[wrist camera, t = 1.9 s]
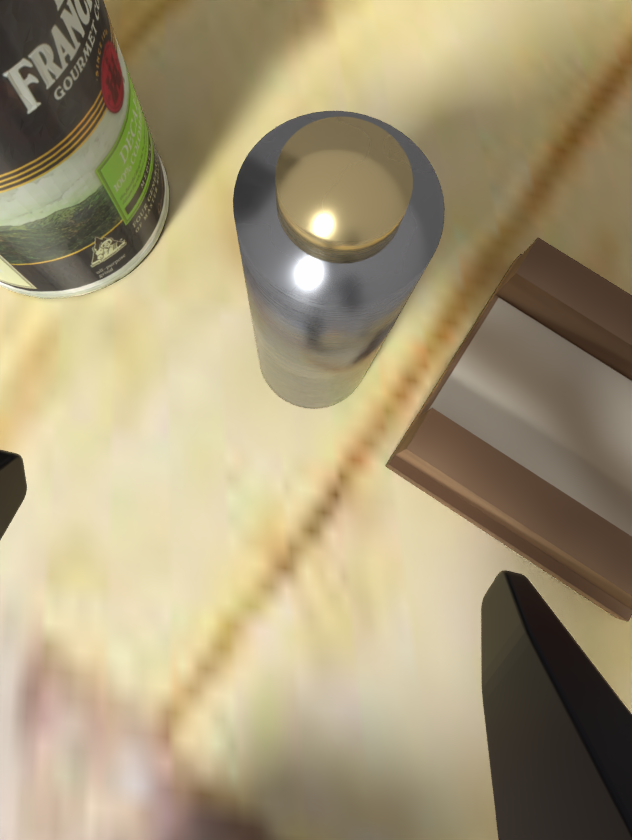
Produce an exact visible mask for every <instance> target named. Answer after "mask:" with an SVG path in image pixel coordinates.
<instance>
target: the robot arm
mask: <svg viewBox="0 0 632 840" xmlns="http://www.w3.org/2000/svg"><path fill="white" fill-rule="evenodd" d="M26 491H27V484H26V477H25V471H24V464H23V459H22V457H21V456H20V455H19V454H17V453H12V452H8V451H4V450H0V540H1V538H2V536H3V535H4V533H5V531H6V530H7V528H8V526H9V524H10V523H11V521H12V519H13V517H14V516H15V514H16V512H17V510H18V509H19V507H20V505H21V504H22V502H23V500H24V498H25V495H26ZM481 649H482V695H483V706H484V715H485V723H486V732H487V741H488V750H489V759H490V768H491V777H492V785H493V794H494V803H495V812H496V821H497V830H498V838H499V840H632V714H631V713H630V711H629V710H628V709H627V708H626V706H625V705H624V704H623V702H622V701H621V700H620V698H619V697H618V696H617V695H616V693H615V692H614V691H613V689H612V688H611V687H610V685H609V684H608V683H607V681H606V680H605V679H604V678H603V676H602V675H601V674H600V672H599V671H598V670H597V668H596V667H595V666H594V665H593V663H592V662H591V661H590V659H589V658H588V657H587V655H586V654H585V653H584V652H583V650H582V649H581V648H580V646H579V645H578V644H577V642H576V641H575V640H574V638H573V637H572V636H571V635H570V633H569V632H568V631H567V629H566V628H565V627H564V625H563V624H562V623H561V622H560V620H559V619H558V618H557V616H556V615H555V614H554V612H553V611H552V610H551V609H550V607H549V606H548V605H547V603H546V602H545V601H544V599H543V598H542V597H541V595H540V594H539V593H538V592H537V590H536V589H535V588H534V586H533V585H532V584H531V582H530V581H529V580H528V579H527V578H526V577H525V576H524V575H522V574H518V573H514V572H510V571H501V572H500V573H499V574H498V575H497V577H496V578H495V580H494V582H493V583H492V585H491V586H490V588H489V589H488V591H487V593H486V594H485V596H484V598H483V601H482V608H481Z"/></svg>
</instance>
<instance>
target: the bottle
mask: <svg viewBox="0 0 632 840" xmlns="http://www.w3.org/2000/svg"><path fill="white" fill-rule="evenodd" d="M233 209H234V218H235V224H236V230H237V235H238V241H239V247H240V253H241V259H242V264H243V270H244V276H245V282H246V288H247V293H248V299H249V305H250V311H251V316H252V322H253V328H254V334H255V340H256V345H257V351H258V357H259V363H260V368H261V371H262V374H263V376H264V379H265V381H266V382H267V384H268V385H269V387H270V388H271V389H272V390H273V391H274V392H275V393H276V394H277V395H278V396H279V397H280V398H282V399H283V400H285V401H287V402H289V403H291V404H293V405H296V406H299V407H303V408H312V409H315V408H324V407H329V406H332V405H335V404H337V403H339V402H341V401H342V400H344V399H346V398H347V397H348V396H349V395H350V394H352V393H353V391H354V390H355V389H356V388H357V387H358V385H359V384H360V382H361V380H362V379H363V377H364V375H365V373H366V372H367V370H368V368H369V366H370V365H371V363H372V361H373V359H374V358H375V356H376V354H377V352H378V351H379V349H380V347H381V345H382V344H383V342H384V340H385V338H386V337H387V335H388V333H389V331H390V330H391V328H392V326H393V324H394V323H395V321H396V319H397V317H398V316H399V314H400V312H401V310H402V309H403V307H404V305H405V303H406V302H407V300H408V298H409V297H410V295H411V293H412V291H413V290H414V288H415V286H416V284H417V283H418V281H419V279H420V277H421V276H422V274H423V272H424V270H425V269H426V267H427V265H428V263H429V262H430V260H431V258H432V256H433V254H434V252H435V250H436V248H437V246H438V244H439V241H440V238H441V234H442V230H443V224H444V200H443V194H442V190H441V186H440V183H439V180H438V178H437V175H436V173H435V171H434V169H433V167H432V166H431V164H430V162H429V160H428V159H427V158H426V156H425V155H424V154H423V152H422V151H421V150H420V149H419V148H418V147H417V146H416V145H415V144H414V143H413V142H412V141H411V140H410V139H409V138H408V137H407V136H405V135H404V134H403V133H402V132H400V131H398V130H397V129H395V128H394V127H392V126H391V125H388V124H386V123H384V122H382V121H380V120H378V119H375V118H372V117H369V116H366V115H362V114H358V113H353V112H344V111H324V112H316V113H311V114H307V115H303V116H299V117H297V118H294V119H291V120H289V121H287V122H285V123H283V124H281V125H279V126H278V127H276V128H275V129H273V130H272V131H270V132H269V133H268V134H266V135H265V136H264V137H263V138H262V139H261V140H260V141H259V142H258V143H257V144H256V145H255V146H254V148H253V149H252V150H251V151H250V152H249V154H248V156H247V157H246V159H245V161H244V162H243V164H242V166H241V169H240V171H239V174H238V176H237V180H236V184H235V188H234V197H233Z"/></svg>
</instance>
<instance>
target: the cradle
mask: <svg viewBox="0 0 632 840" xmlns="http://www.w3.org/2000/svg"><path fill="white" fill-rule="evenodd" d="M386 467H387V468H389V469H390V470H392V471H393V472H395V473H396V474H398V475H399V476H401V477H403V478H404V479H406V480H407V481H409V482H410V483H412V484H413V485H415V486H416V487H418V488H419V489H421V490H422V491H424V492H425V493H427V494H428V495H430V496H432V497H433V498H435V499H436V500H438V501H439V502H441V503H442V504H444V505H445V506H447V507H448V508H450V509H451V510H453V511H454V512H456V513H457V514H459V515H460V516H462V517H464V518H465V519H467V520H468V521H470V522H471V523H473V524H474V525H476V526H477V527H479V528H480V529H482V530H483V531H485V532H486V533H488V534H489V535H491V536H492V537H494V538H496V539H497V540H499V541H500V542H502V543H503V544H505V545H506V546H508V547H509V548H511V549H512V550H514V551H515V552H517V553H518V554H520V555H521V556H523V557H525V558H526V559H528V560H529V561H531V562H532V563H534V564H535V565H537V566H538V567H540V568H541V569H543V570H544V571H546V572H547V573H549V574H550V575H552V576H553V577H555V578H557V579H558V580H560V581H561V582H563V583H564V584H566V585H567V586H569V587H570V588H572V589H573V590H575V591H576V592H578V593H579V594H581V595H582V596H584V597H586V598H587V599H589V600H590V601H592V602H593V603H595V604H596V605H598V606H599V607H601V608H602V609H604V610H605V611H607V612H608V613H610V614H611V615H613V616H614V617H616V618H619V619H622V620H625V621H629V619H630V617H631V615H632V295H630V294H628V293H627V292H625V291H624V290H622V289H620V288H619V287H617V286H616V285H614V284H612V283H611V282H609V281H608V280H606V279H604V278H603V277H601V276H599V275H598V274H596V273H595V272H593V271H591V270H590V269H588V268H587V267H585V266H583V265H582V264H580V263H578V262H577V261H575V260H574V259H572V258H570V257H569V256H567V255H566V254H564V253H562V252H561V251H559V250H558V249H556V248H554V247H553V246H551V245H549V244H548V243H546V242H545V241H543V240H541V239H540V238H537V239H536V240H535V241H534V242H533V244H532V245H531V246H530V247H529V248H528V249H527V250H526V251H525V252H524V253H523V254H520V255H519V256H518V257H517V258H516V260H515V261H514V262H513V263H512V265H511V267H510V268H509V270H508V271H507V273H506V275H505V276H504V278H503V279H502V281H501V283H500V284H499V286H498V287H497V289H496V291H495V292H494V294H493V295H492V297H491V299H490V300H489V302H488V303H487V305H486V306H485V308H484V310H483V311H482V313H481V314H480V316H479V318H478V319H477V321H476V322H475V324H474V326H473V327H472V329H471V330H470V332H469V334H468V335H467V337H466V338H465V340H464V342H463V343H462V345H461V346H460V348H459V350H458V351H457V353H456V354H455V356H454V358H453V359H452V361H451V362H450V364H449V365H448V367H447V369H446V370H445V372H444V373H443V375H442V377H441V378H440V380H439V381H438V383H437V385H436V386H435V388H434V389H433V391H432V393H431V394H430V396H429V397H428V399H427V401H426V402H425V404H424V405H423V407H422V409H421V410H420V412H419V413H418V415H417V416H416V418H415V420H414V421H413V423H412V424H411V426H410V428H409V429H408V431H407V432H406V434H405V436H404V437H403V439H402V440H401V442H400V444H399V445H398V447H397V448H396V450H395V452H394V453H393V455H392V456H391V458H390V460H389V461H388V463H387V464H386Z"/></svg>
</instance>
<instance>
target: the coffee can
mask: <svg viewBox="0 0 632 840" xmlns="http://www.w3.org/2000/svg"><path fill="white" fill-rule="evenodd" d="M168 208H169V186H168V179H167V175H166V172H165V168H164V165H163V163H162V160H161V158H160V156H159V154H158V153H157V151H156V148H155V145H154V142H153V140H152V137H151V134H150V131H149V128H148V126H147V123H146V120H145V118H144V115H143V112H142V109H141V107H140V104H139V101H138V98H137V96H136V93H135V90H134V87H133V84H132V81H131V79H130V76H129V73H128V70H127V67H126V64H125V61H124V58H123V56H122V53H121V50H120V47H119V44H118V42H117V39H116V36H115V33H114V30H113V28H112V25H111V22H110V19H109V16H108V13H107V10H106V8H105V4H104V1H103V0H0V286H1V287H3V288H5V289H8V290H10V291H13V292H16V293H19V294H23V295H27V296H33V297H38V298H68V297H74V296H80V295H84V294H88V293H91V292H94V291H97V290H100V289H102V288H104V287H107V286H109V285H111V284H112V283H114V282H116V281H118V280H119V279H121V278H123V277H124V276H126V275H127V274H129V273H130V272H131V271H132V270H133V269H134V268H135V267H136V266H137V265H138V264H139V263H140V262H141V261H142V260H143V259H144V258H145V257H146V256H147V255H148V254H149V252H150V251H151V249H152V248H153V246H154V245H155V243H156V242H157V240H158V238H159V236H160V234H161V232H162V229H163V227H164V224H165V221H166V217H167V213H168Z"/></svg>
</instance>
